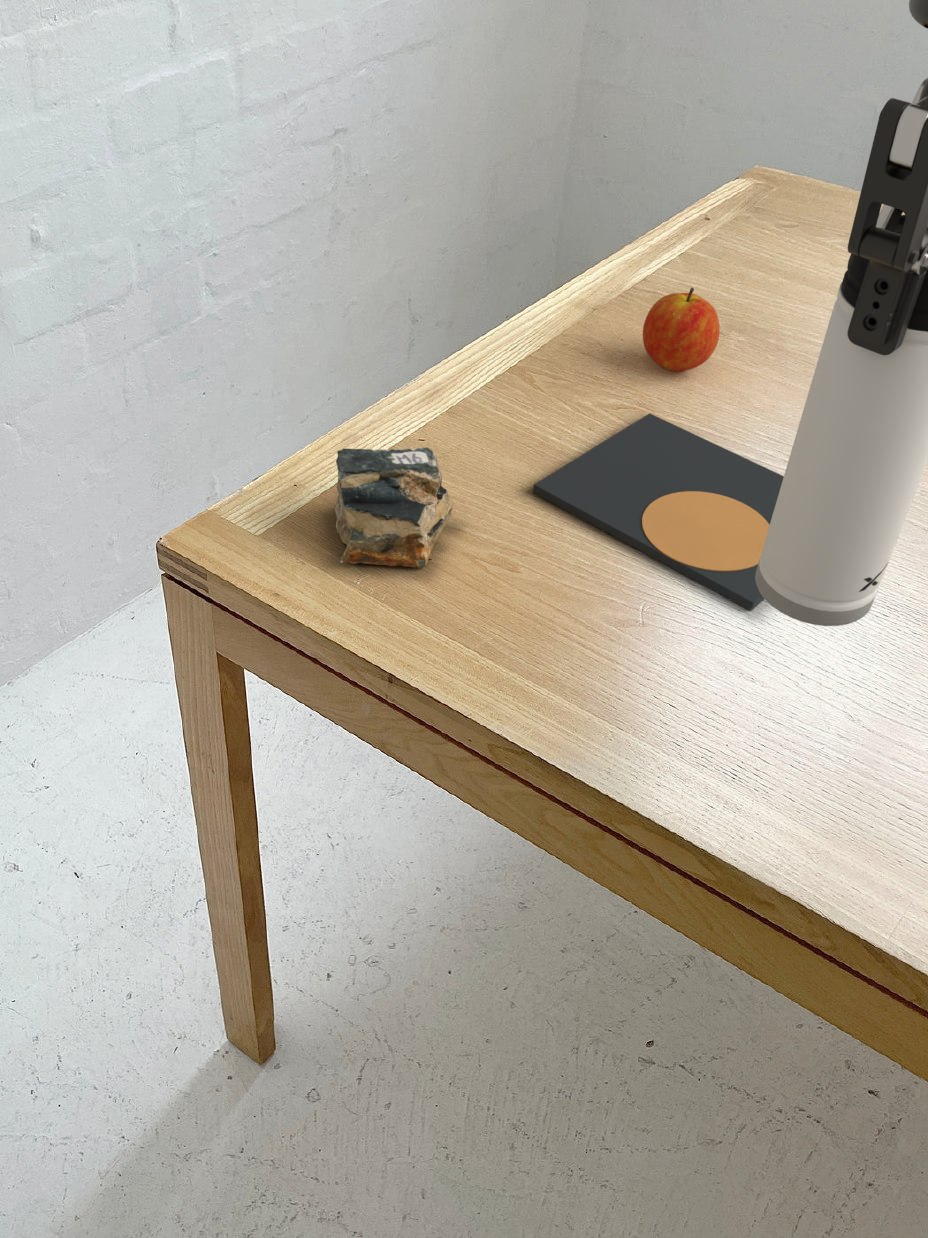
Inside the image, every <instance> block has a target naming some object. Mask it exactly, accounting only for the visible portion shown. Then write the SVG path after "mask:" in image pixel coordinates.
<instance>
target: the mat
mask: <svg viewBox="0 0 928 1238" xmlns="http://www.w3.org/2000/svg"><path fill="white" fill-rule="evenodd" d="M783 478H784V475H782V474H781V473H778V472H775V471H773V470H771V469H769V468H767V467H765V466H762V465H761V464H758V463H757V462H755V461H753V460H750V459H748V458H746V457H744V456H742V455H740V454H737V453H735V452H733V451H731V450H729V449H726V448H724V447H723V446H720V445H718V444H716V443H714V442H712V441H709V440H707V439H705V438H703V437H701V436H699V435H697V434H694V433H692V432H690V431H688V430H686V429H684V428H682V427H680V426H678V425H676V424H674V423H671V422H669V421H667V420H665V419H663V418H661V417H659V416H657V415H654V414H652V413H648V414H646V415H645V416H643V417H641V418H640V419H638V420H636V421H634V422H633V423H631V424H630V425H628V426H627V427H625V428H623V429H622V430H619V432H617V433H615V434H613V435H612V436H610V437H609V438H607V439H605V440H604V441H602V442H600V443H599V444H596V446H594V447H592V448H591V449H589V450H588V451H586V452H584V453H583V454H581V455H579V456H577V457H576V458H574V459H573V460H571V461H570V462H568V463H566V464H564V465H563V466H562V467H560V468H558V469H556V470H554V471H553V472H552V473H550V474H549V475H547V476H545V477H543V478H542V479H540V480H539V481H537V482H536V483H534V484H533V488H532V493H533V494H535V495H537V496H538V497H540V498H541V499H544V500H546V502H547V501H548V502H549V503H551V504H552V505H555V506H557V507H558V508H560V509H562V510H564V511H565V512H568V513H569V514H571V515H573V516H575V517H576V518H579V519H580V520H582V521H584V522H586V523H588V524H590V525H591V526H593V527H595V528H596V529H599V530H601V531H603V532H604V533H606V534H608V535H610V536H611V537H614V538H615V539H618V540H619V541H621V542H623V543H625V544H627V545H628V546H630V547H632V548H634V549H636V550H638V551H639V552H641V553H643V554H645V555H647V556H649V557H651V558H652V559H654V560H656V561H658V562H660V563H661V564H663V565H665V566H667V567H669V568H671V569H673V570H674V571H676V572H679V573H680V574H681V575H684V576H686V577H687V578H689V579H691V580H693V581H695V582H697V583H698V584H700V585H702V586H704V587H706V588H708V589H709V590H711V591H713V592H715V593H717V594H719V595H721V596H722V597H723V598H726V599H728V600H730V601H732V602H733V603H736V604H737V605H739V606H741V607H743V608H744V609H746V610H748V611H749V612H752V611H753V610H754V609H755V608H757V606H759V605H760V604H761V603H762V602H763V601H765V599H764V597H763V596H762V595H761V593H760V592H759V589H758V587H757V585H756V580H755V575H756V570H757V567H758V563H759V560H760V556H761V553H762V551H763V546H764V543H765V539H766V536H767V532H768V529H769V526H770V522H771V519H772V515H773V512H774V509H775V505H776V502H777V498H778V495H779V492H780V488H781V485H782V481H783Z"/></svg>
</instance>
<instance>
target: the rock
mask: <svg viewBox="0 0 928 1238" xmlns="http://www.w3.org/2000/svg"><path fill="white" fill-rule="evenodd" d="M336 453H337V457H336V461H335V463H336V468H337V483H336V490H337V493H338V495H337V499H336V503H335V505H334V512H335V514H336V516H335V517H336V520H335V528H336V533H337V534H338V537H340V541H341V542H342V544H345V545H346V546H345V550H344V551H343V553H342V555H341V557H340V559H341V560H340V561H339V562H340V563H341V564H342V563H348V562H349V564H352V565H356V564H360V563H361V564H366V565H367V564H368V565H376V566H378V565H379V566H388V567H398V566H402V567H405V568H406V567H411V568H419V569H420V568H424V567H426V566H427V565H428V561H429V559H430V557H431V553H432V552H433V550H434V548H435V547H436V546H437V545H438V543H439V538H440V536H441V534H442V532H443V530H444V529H445V526H446V525H447V522H448V521H449V520H450V518H451V517H452V516H453V512H452V510H453V508H454V502H453V498H452V497H451V495H450V494H449V493H448V491H447V488H444V487H443V485H442V481H443V480H442V479H443V478H442V473H441V469H440V466H439V463H438V460H437V455H436V454H435V452H434V450H432V449H431V448H429V447H423V446H422V447H415V448H389V449H370V448H342V449H339V450H337V452H336Z"/></svg>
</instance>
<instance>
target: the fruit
mask: <svg viewBox="0 0 928 1238" xmlns="http://www.w3.org/2000/svg"><path fill="white" fill-rule="evenodd" d="M694 291H695V288H694V287H690V289H689V292H675V293H670V294H667V295H664V296H662V297H661V298H659V299H658V300H657V301H656V302H655V303H654V304H653V305H652V306H651V307H650V309H649V311H648V313H647V315H646V317H645V320H644V322H643V326H642V342H643V346H644V349H645V351H646V353H647V355H648V356H649V357H650V359H651V360H652V361H653V362H654V363H656V364H657V365H658V366H659V367H661V368H662V369H664V370H666V371H671V372H675V373H683V372H686V371H689V370H692V369H694V368H697V367H699V366H701V365H703V364H704V363H706V361H708V360H709V359H710V358H711V356H712V355H713V354H714V352H715V350H716V348H717V345H718V343H719V338H720V333H721V332H720V320H719V317H718V313H717V310H716V309H715V307H714V306H713V304H711V303H710V302H709V301H707V300H706V299H704V298H703V297H702V296H700V295H698V294H696V293H693V292H694Z"/></svg>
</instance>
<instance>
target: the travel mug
mask: <svg viewBox="0 0 928 1238" xmlns="http://www.w3.org/2000/svg"><path fill="white" fill-rule="evenodd" d="M904 222H905V214H902V215H901V217H900V219H899V221H898V223H897V225H896V227H895V230H894V233H897V234H900V235H901V233H902V229H903V226H904ZM868 263H869V259H866V258H863V257H860V256H857V255H854V254H851V253H850V255H849V258H848V261H847V267H846V268H847V270H846V271H845V272H844V274H843V278H842V282H841V283H840V284H839V287H838V290H837V295H836V300H835V301H834V304H833V308H832V311H831V314H830V318H829V321H828V324H827V328H826V332H825V335H824V338H823V342H822V344H821V345H822V346H821V349H820V351H819V352H820V353H819V356H818V359H817V362H816V367H815V369H814V372H813V375H812V379H811V383H810V386H809V389H808V393H807V397H806V400H805V403H804V407H803V410H802V413H801V417H800V419H799V423H798V427H797V430H796V434H795V437H794V441H793V445H792V447H791V451H790V455H789V458H788V461H787V464H786V468H785V471H784V475H783V476H784V478H783V481H782V485H781V488H780V492H779V495H778V498H777V502H776V505H775V509H774V512H773V515H772V519H771V522H770V526H769V529H768V532H767V536H766V539H765V543H764V546H763V551H762V553H761V556H760V560H759V563H758V567H757V570H756V575H755V580H756V585H757V587H758V589H759V592H760V593H761V595H762V596H763V597H764V601H766V602H767V603H768V604H769V605H770V606H771V607H773V608H774V609H775V610H777V611H778V612H779V613H781V614H783V615H785V616H787V617H789V618H791V619H794V620H796V621H799V622H802V623H805V624H810V625H814V626H821V627H840V626H847V625H849V624H852V623H856V622H857V621H859V620H861V619H862V618H864V617H866V615H868V613H869V612H870V611H871V610H872V609H871V608H872V606H873V605H874V601H875V599H876V596H877V594H878V591H879V589H880V585H881V583H882V581H883V578H884V575H885V573H886V570H887V567H888V565H889V562H890V560H891V558H892V555H893V553H894V550H895V547H896V544H897V542H898V539H899V537H900V534H901V532H902V529H903V526H904V524H905V521H906V519H907V516H908V513H909V511H910V508H911V506H912V503H913V501H914V498H915V495H916V493H917V490H918V488H919V485H920V482H921V480H922V478H923V475H924V472H925V470H926V467H927V464H928V268H927V270H926V271H927V272H926V275H925V278H924V281H923V284H922V286H921V289H920V292H919V295H918V298H917V301H916V304H915V307H914V310H913V313H912V316H911V319H910V321H909V324H908V327H907V330H906V333H905V336H904V339H903V342H902V344H901V346H900V347H899V348H898V349H896V350H895V351H894V352H892V353H891V354H889V355H880V354H878V353H875V352H873V351H870V350H868V349H865V348H863V347H860V346H857V345H855V344H853V343H852V342H851V341H850V340H849V338H848V334H847V332H848V328H849V325H850V321H851V318H852V315H853V312H854V308H855V305H856V302H857V299H858V295H859V292H860V289H861V286H862V282H863V279H864V276H865V272H866V269H867V266H868Z"/></svg>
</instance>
